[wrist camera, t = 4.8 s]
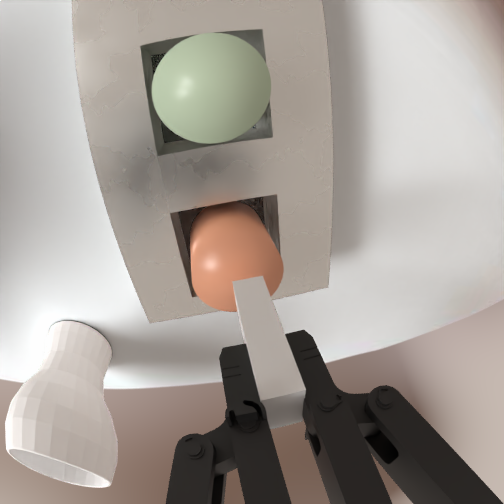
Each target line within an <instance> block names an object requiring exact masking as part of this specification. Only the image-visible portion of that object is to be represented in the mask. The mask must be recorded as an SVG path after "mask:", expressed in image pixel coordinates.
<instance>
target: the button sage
mask: <svg viewBox="0 0 504 504" xmlns="http://www.w3.org/2000/svg"><path fill="white" fill-rule="evenodd" d="M270 95H271V78H270V73H269V70H268V67H267V65H266V63H265V61H264V59H263V58H262V56H261V55H260V54H259V52H258V51H257V50H256V49H255V48H254V47H252V46H251V45H250V44H249V43H247V42H246V41H244V40H242V39H240V38H238V37H235V36H232V35H229V34H223V33H204V34H199V35H195V36H192V37H189V38H187V39H185V40H183V41H181V42H180V43H178V44H176V45H175V46H174V47H173V48H171V49H170V50H169V51H168V52H167V53H166V54H165V56H164V57H163V58H162V60H161V61H160V63H159V65H158V66H157V68H156V71H155V74H154V77H153V81H152V99H153V104H154V107H155V109H156V112H157V114H158V116H159V117H160V119H161V120H162V122H163V123H164V124H165V125H166V126H167V127H168V128H169V129H170V130H171V131H173V132H174V133H175V134H177V135H179V136H180V137H182V138H185V139H187V140H190V141H193V142H198V143H209V144H212V143H221V142H225V141H229V140H232V139H234V138H236V137H238V136H241V135H242V134H244V133H245V132H247V131H248V130H249V129H251V128H252V127H253V126H254V125H255V124H256V123H257V122H258V121H259V119H260V118H261V117H262V115H263V113H264V112H265V110H266V108H267V105H268V103H269V99H270Z"/></svg>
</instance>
